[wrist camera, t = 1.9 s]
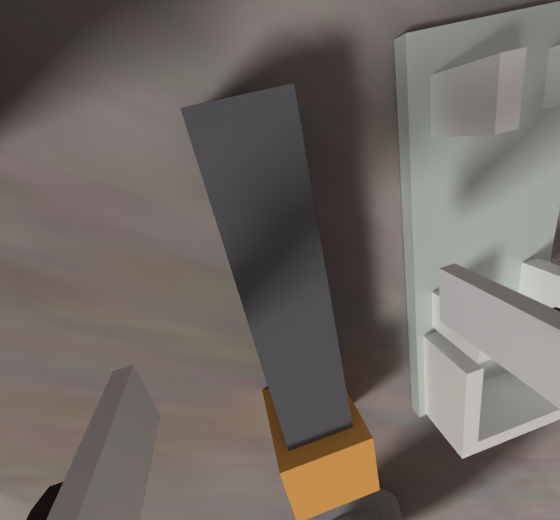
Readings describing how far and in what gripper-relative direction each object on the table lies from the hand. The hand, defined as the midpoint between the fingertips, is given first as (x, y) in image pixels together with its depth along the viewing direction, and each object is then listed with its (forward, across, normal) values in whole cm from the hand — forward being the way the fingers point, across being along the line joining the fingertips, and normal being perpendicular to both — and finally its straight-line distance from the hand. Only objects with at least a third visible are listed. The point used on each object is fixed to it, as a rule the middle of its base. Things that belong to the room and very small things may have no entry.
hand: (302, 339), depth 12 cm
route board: (+7, +14, -2) cm, 16 cm away
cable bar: (+7, 0, -2) cm, 7 cm away
